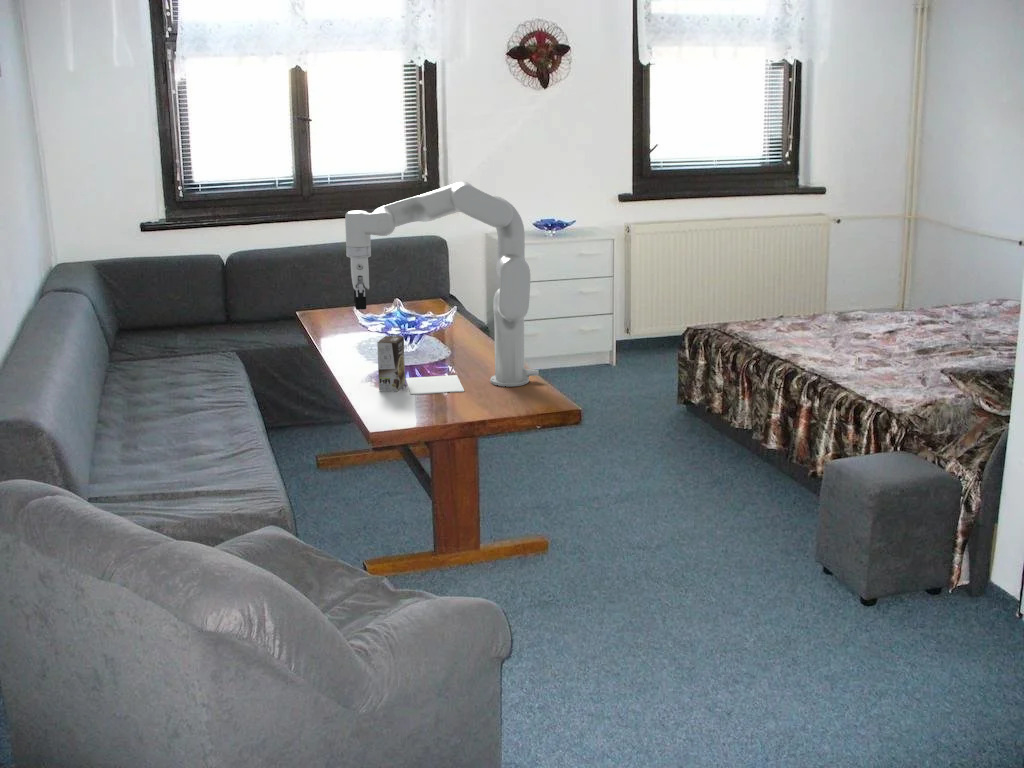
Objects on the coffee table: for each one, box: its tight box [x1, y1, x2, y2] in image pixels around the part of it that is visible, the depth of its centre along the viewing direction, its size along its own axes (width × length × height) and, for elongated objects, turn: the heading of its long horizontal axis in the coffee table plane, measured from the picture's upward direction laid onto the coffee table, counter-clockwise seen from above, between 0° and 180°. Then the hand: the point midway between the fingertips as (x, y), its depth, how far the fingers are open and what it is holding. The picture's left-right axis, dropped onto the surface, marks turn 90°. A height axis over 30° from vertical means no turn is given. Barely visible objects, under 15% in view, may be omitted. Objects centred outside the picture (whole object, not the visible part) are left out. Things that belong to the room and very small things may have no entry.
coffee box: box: [377, 335, 406, 393], centre depth 353 cm, size 9×6×16 cm
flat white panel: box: [405, 374, 465, 395], centre depth 357 cm, size 17×18×1 cm
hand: (360, 305), depth 346 cm, fingers open, 9 cm apart
